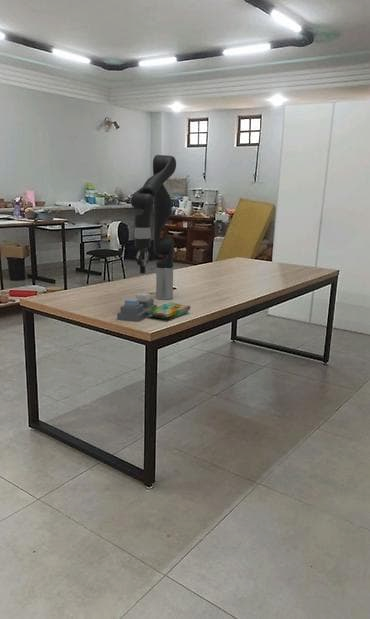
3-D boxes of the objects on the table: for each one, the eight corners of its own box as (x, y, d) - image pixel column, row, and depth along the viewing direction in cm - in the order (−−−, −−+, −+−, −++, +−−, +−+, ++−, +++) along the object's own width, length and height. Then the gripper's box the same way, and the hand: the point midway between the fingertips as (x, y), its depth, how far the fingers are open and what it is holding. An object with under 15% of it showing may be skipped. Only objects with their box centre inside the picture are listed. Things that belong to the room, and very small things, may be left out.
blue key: (129, 304, 221) (129, 298, 220) (139, 305, 220) (139, 299, 219) (124, 306, 217) (124, 300, 216) (134, 307, 215) (134, 301, 214)
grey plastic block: (136, 308, 237) (136, 296, 236) (156, 310, 234) (156, 298, 233) (117, 319, 217) (116, 306, 215) (139, 321, 214) (139, 308, 212)
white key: (140, 298, 233) (140, 292, 232) (149, 299, 232) (149, 293, 231) (136, 300, 229) (136, 294, 228) (145, 301, 227) (145, 295, 226)
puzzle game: (190, 304, 230) (166, 312, 213) (190, 313, 231) (166, 322, 215) (170, 301, 236) (145, 308, 220) (170, 310, 237) (145, 318, 221)
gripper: (140, 235, 230) (140, 270, 234) (129, 238, 218) (129, 275, 222) (155, 236, 228) (155, 271, 232) (144, 238, 216) (144, 276, 220)
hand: (142, 273), depth 227 cm, fingers closed
